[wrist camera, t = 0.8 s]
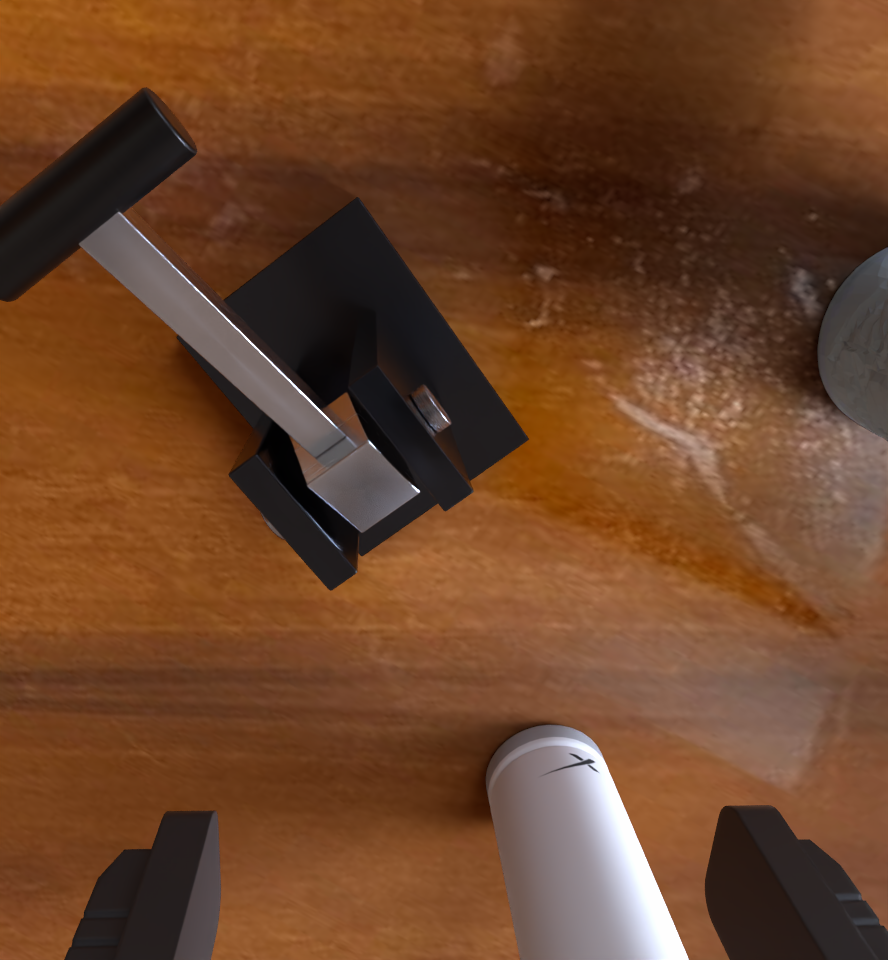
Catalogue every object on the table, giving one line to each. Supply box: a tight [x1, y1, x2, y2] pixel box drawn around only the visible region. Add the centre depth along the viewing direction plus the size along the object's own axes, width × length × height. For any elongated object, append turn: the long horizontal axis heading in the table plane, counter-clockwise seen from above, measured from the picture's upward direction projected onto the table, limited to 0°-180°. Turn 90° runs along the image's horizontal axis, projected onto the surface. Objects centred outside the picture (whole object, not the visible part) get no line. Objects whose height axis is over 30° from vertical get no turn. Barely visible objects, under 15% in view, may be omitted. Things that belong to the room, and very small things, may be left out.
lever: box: [0, 87, 420, 533], centre depth 19 cm, size 12×5×2 cm, turn 36°
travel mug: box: [486, 725, 689, 960], centre depth 31 cm, size 6×7×20 cm
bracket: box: [177, 197, 529, 591], centre depth 27 cm, size 12×9×13 cm
